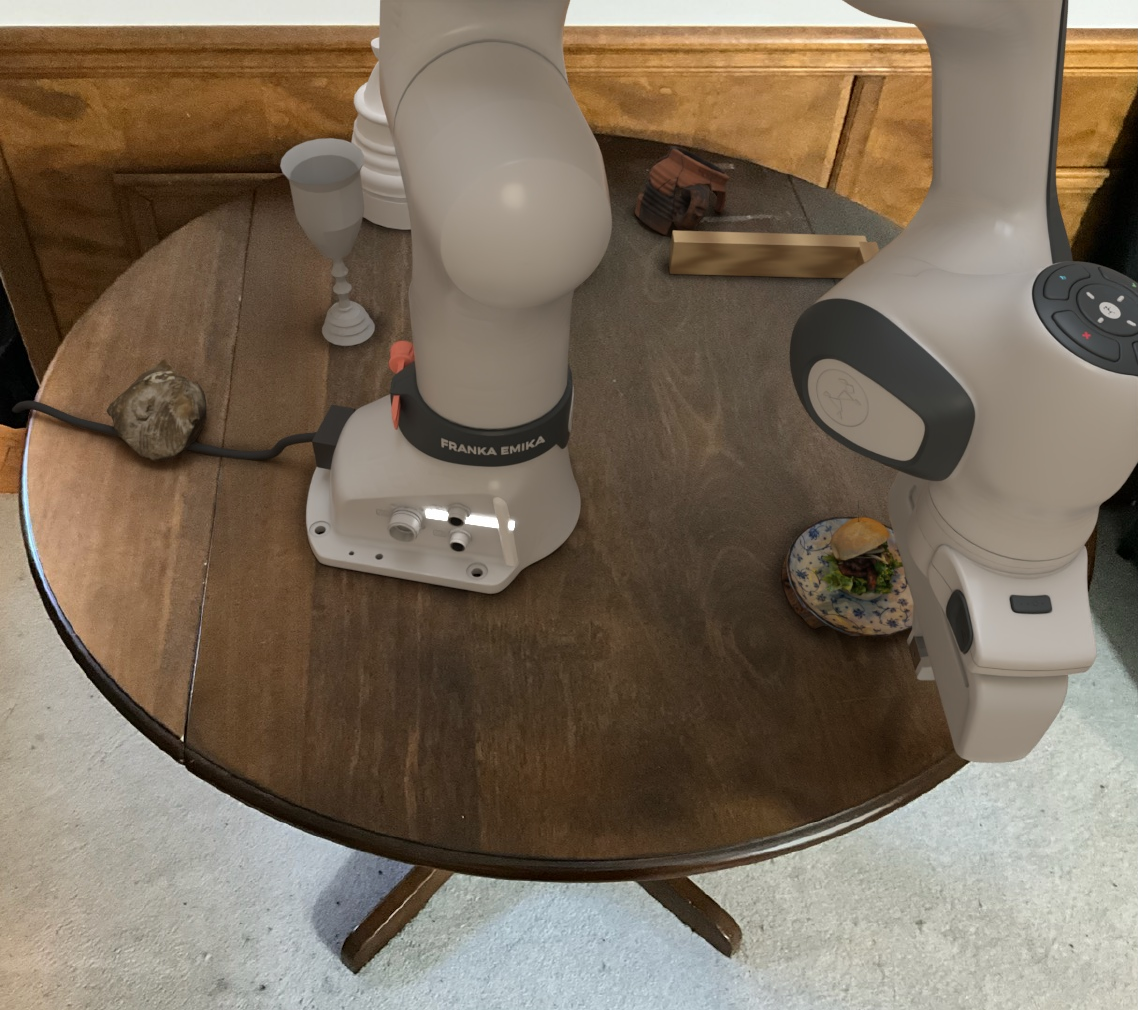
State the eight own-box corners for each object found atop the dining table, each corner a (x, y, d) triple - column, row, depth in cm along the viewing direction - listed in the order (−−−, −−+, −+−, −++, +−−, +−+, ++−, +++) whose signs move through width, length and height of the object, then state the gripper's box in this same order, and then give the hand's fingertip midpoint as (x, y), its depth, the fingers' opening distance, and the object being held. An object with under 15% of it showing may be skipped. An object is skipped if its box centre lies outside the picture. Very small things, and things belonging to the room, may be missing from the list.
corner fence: (684, 400, 96) (690, 367, 93) (668, 262, 110) (672, 230, 107) (909, 404, 97) (921, 372, 94) (864, 267, 110) (874, 235, 107)
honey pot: (420, 243, 110) (406, 80, 97) (328, 202, 114) (302, 40, 101) (491, 189, 117) (488, 30, 104) (402, 152, 122) (388, -5, 108)
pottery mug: (618, 201, 118) (652, 132, 114) (687, 231, 122) (721, 164, 118) (650, 238, 108) (688, 163, 104) (724, 268, 112) (763, 197, 108)
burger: (803, 655, 78) (826, 597, 73) (764, 534, 86) (782, 472, 80) (955, 641, 80) (988, 583, 74) (903, 523, 87) (930, 462, 82)
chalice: (362, 360, 98) (337, 192, 84) (298, 342, 99) (263, 173, 86) (397, 315, 102) (379, 148, 89) (335, 298, 104) (308, 131, 90)
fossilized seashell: (221, 439, 87) (217, 376, 94) (160, 389, 83) (161, 328, 90) (153, 490, 88) (155, 424, 96) (90, 443, 84) (96, 378, 91)
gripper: (896, 402, 66) (846, 539, 76) (986, 686, 52) (911, 804, 63) (995, 403, 66) (932, 540, 76) (1110, 686, 52) (1014, 804, 63)
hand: (923, 661), depth 69 cm, fingers closed
